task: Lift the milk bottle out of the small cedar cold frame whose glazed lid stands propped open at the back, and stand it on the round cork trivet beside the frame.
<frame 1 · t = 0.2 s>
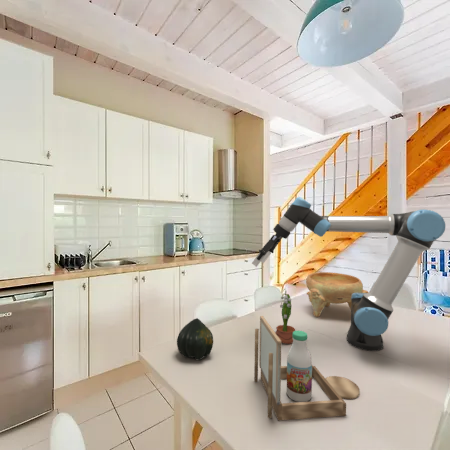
hand: (257, 263, 128), 36 cm above the table, tool tilted 35°, fingers open, 13 cm apart
trivet: (341, 388, 89), on the table
milk bottle: (298, 395, 85), resting in cold frame
cold frame: (298, 395, 85), on the table
prop sticks: (262, 397, 83), on the table
decorative bowl: (329, 313, 164), on the table
lid: (269, 355, 84), on the cold frame, point 13 cm above the table
potted flower: (285, 341, 124), on the table
squash: (194, 355, 110), on the table
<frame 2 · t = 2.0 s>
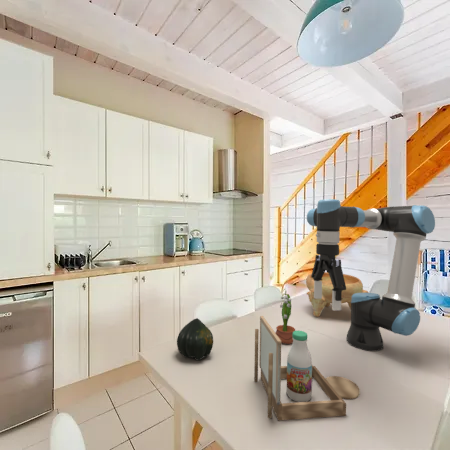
hand: (326, 303, 93), 27 cm above the table, tool pointing down, fingers open, 13 cm apart
nothing on the table moved.
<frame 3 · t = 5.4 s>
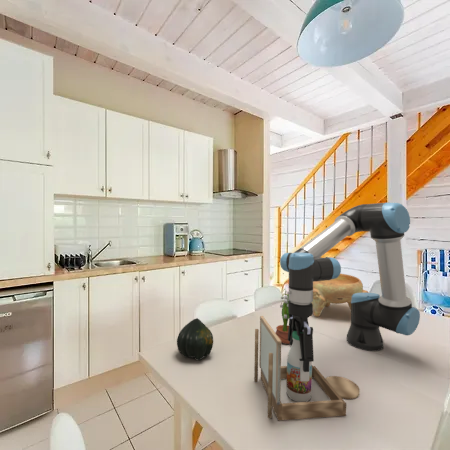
hand: (299, 372, 85), 7 cm above the table, tool pointing down, fingers closed on milk bottle, 8 cm apart
milk bottle: (298, 395, 85), resting in cold frame, touching gripper
everything else where it was.
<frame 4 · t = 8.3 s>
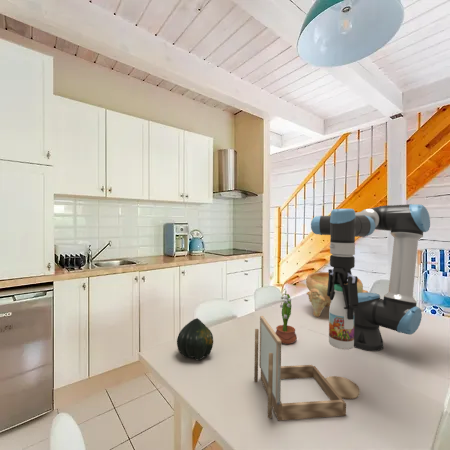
hand: (341, 323, 88), 22 cm above the table, tool pointing down, fingers closed on milk bottle, 8 cm apart
milk bottle: (341, 345, 89), point 14 cm above the table, touching gripper
everything else where it was.
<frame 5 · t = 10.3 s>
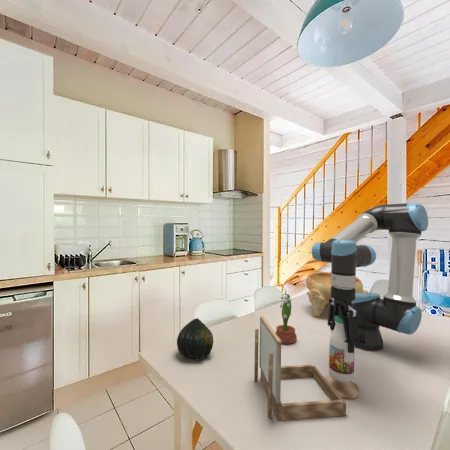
hand: (341, 355, 88), 11 cm above the table, tool pointing down, fingers closed on milk bottle, 8 cm apart
milk bottle: (341, 377, 88), point 4 cm above the table, touching gripper
everything else where it was.
when the fingers open (10 cm above the table, at t = 11.5 s): milk bottle drops 1 cm, resting on trivet.
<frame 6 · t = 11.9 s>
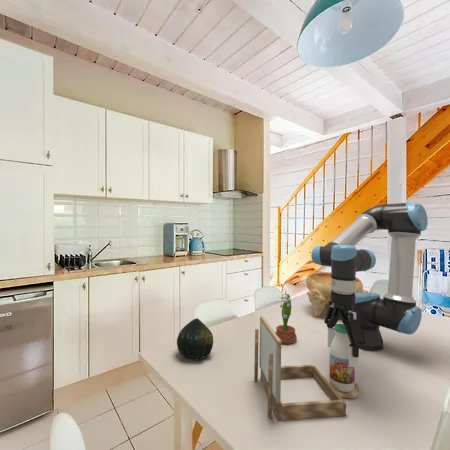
hand: (341, 355, 88), 11 cm above the table, tool pointing down, fingers open, 12 cm apart
milk bottle: (341, 386, 88), point 1 cm above the table, touching trivet
everything else where it was.
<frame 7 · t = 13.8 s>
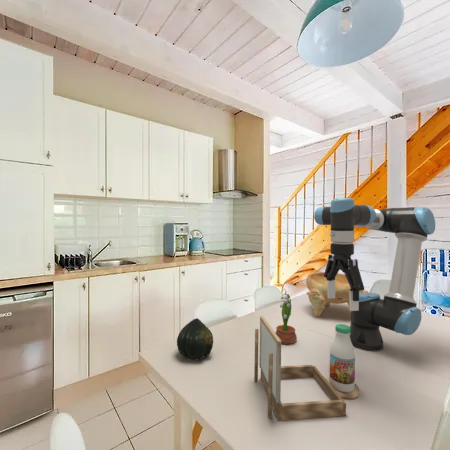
hand: (341, 303, 92), 27 cm above the table, tool pointing down, fingers open, 13 cm apart
nothing on the table moved.
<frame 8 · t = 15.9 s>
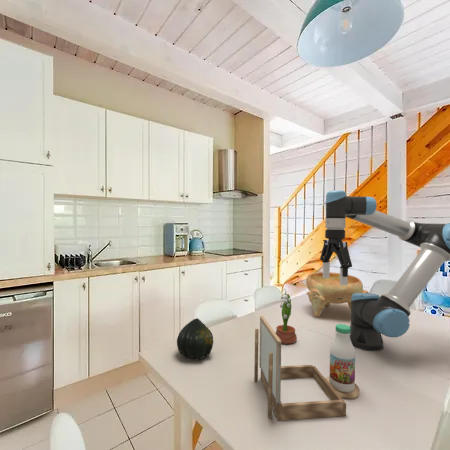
hand: (334, 281, 108), 32 cm above the table, tool pointing down, fingers open, 13 cm apart
nothing on the table moved.
at the end: milk bottle 0.2 cm from the trivet (horizontally); milk bottle tilted 0°; the gripper is holding nothing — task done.
